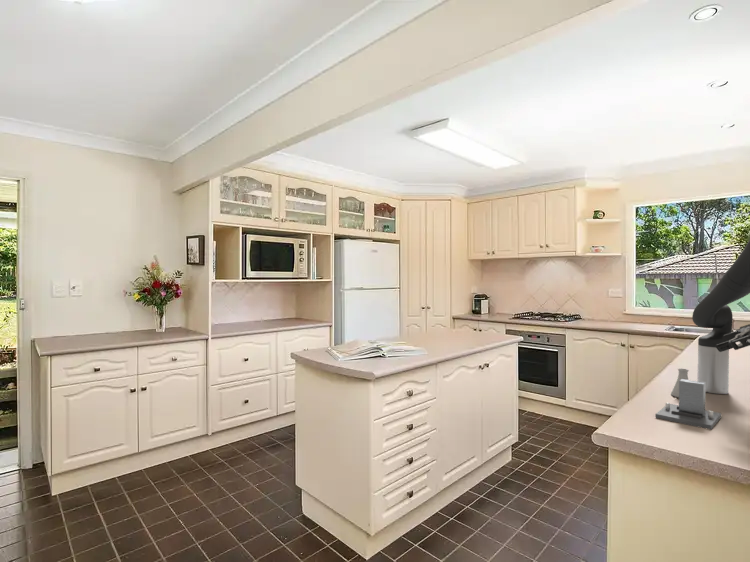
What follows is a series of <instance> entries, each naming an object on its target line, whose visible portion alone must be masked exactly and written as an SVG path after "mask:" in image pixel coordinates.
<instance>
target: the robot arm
mask: <svg viewBox="0 0 750 562" xmlns="http://www.w3.org/2000/svg"><path fill="white" fill-rule="evenodd" d="M749 294H750V239H749V240H748V242H747V243H746V245H745V247H744V248H743V250H742V251H741V253H740V254H739V256H738V257H737V258H736V260H735V261H734V263H733V264H732V265H730V267H729V268H728V269H727V270H726V272H725V273H724V274H723V276H722V277H721V278H720V280H719V282H718V283H717V284H716V285H715V286H714V288H713V289H711V291H710V292H709V293H708V294H707V295H706V296H705V297H704V298H703V299H701V301H700V302H699V303H697V305H696V306H695V308H694V310H693V312H692V322H693V324H694V325H695V326H697V327H699V328H704V329H705V328H706V329H711V330H712V331H710V332H709V333H708V334H705V335H702V336H700V337H699V338H698V340H697V344H698V345H697V379H696V381H699V382H705V383H706V392H705V393H710V394H717V395H718V394H720V395H727V394H729V387H730V386H729V385H730V380H729V379H730V378H729V374H730V370H729V369H730V365H729V364H730V350H731V349H734V351H738V350H740V349H742V348H743V349H744V348H746V347H750V323H749V324H746V325H742V326H739V328H737V329H736V330H735V331H733V320H734V319H733V317H734V315H733V312H732V309H731V307H730V306H729V304H731V303H735V302H736V301H738V300H740V299H743V298H744V297H746V296H748V295H749Z"/></svg>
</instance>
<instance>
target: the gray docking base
mask: <svg viewBox="0 0 750 562" xmlns="http://www.w3.org/2000/svg"><path fill="white" fill-rule="evenodd" d="M664 404H665V406H664V407H663V408H661V409H660V410H658V411H657V412H656V413H655V417H656V419H659V418H661V419H660V420H664V419H665V420H664V421H668V420H669V422H673V421H674V422H673V423H678V422H679V424H684V425H688V426H693V427H696V428H697V427H698V428H701V427H702V429H706V428H707V429H706V430H712V429H713V428H714V427H715V426H716V424H717V423H718V421H720V419H721V418H722V413H721V412H717V411H713V410H706V409H705V416H704V417H703V418H701V416H699V415H694V414H689V413H684V412H679V404H678V405H677V404H674V403H670V402H665V403H664ZM714 425H715V426H714Z"/></svg>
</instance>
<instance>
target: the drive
mask: <svg viewBox="0 0 750 562" xmlns="http://www.w3.org/2000/svg"><path fill="white" fill-rule="evenodd" d="M706 393H707V392H706V383H705V382H699V381H697V380H691V379H688V380H685V379H681V380H680V381H679V397H678V405H679V412H684V413H689V414H694V415H699V416H701V418H703V417H704V416H705V410H706Z"/></svg>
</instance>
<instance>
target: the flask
mask: <svg viewBox="0 0 750 562" xmlns="http://www.w3.org/2000/svg"><path fill="white" fill-rule="evenodd" d="M677 370H678V376H677V380H676V381H675V382H674V383H675V384H674V386H673V387H672V390H671V392H670V395H671V396H673V397H675V398H679V381H680V380H681V379H685V380H689V377H688V375H689V374H688V373H689V371H690V370H689V369H687V368H683V367H682V368H681V367H678V368H677Z"/></svg>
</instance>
